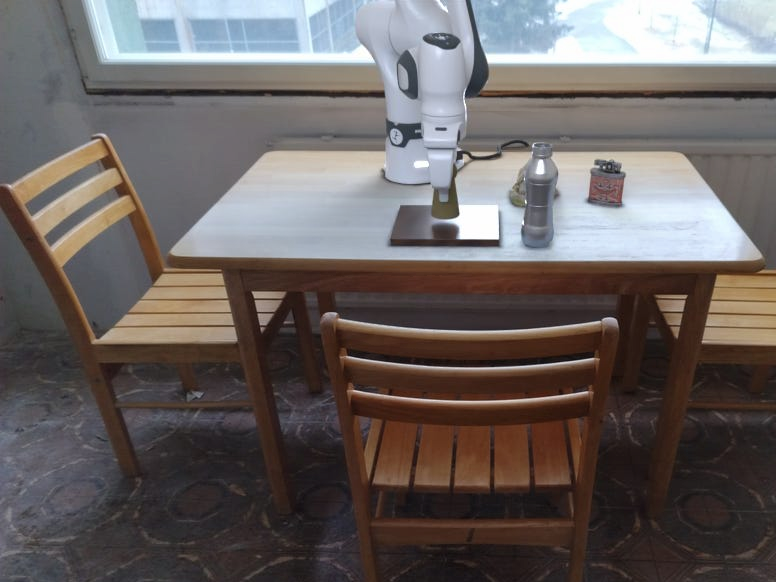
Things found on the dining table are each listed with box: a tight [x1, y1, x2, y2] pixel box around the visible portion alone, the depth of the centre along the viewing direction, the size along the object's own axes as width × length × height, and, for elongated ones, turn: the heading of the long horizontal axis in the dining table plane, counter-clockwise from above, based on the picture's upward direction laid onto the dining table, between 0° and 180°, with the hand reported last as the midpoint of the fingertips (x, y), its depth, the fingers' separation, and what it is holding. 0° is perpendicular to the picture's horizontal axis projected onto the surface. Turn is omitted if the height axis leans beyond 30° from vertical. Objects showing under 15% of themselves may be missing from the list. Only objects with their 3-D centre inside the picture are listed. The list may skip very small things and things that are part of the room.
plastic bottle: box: [520, 141, 559, 248], centre depth 127 cm, size 6×7×20 cm
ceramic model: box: [510, 155, 559, 207], centre depth 151 cm, size 14×11×10 cm
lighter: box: [587, 158, 627, 208], centre depth 148 cm, size 8×3×10 cm, turn 65°
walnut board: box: [389, 204, 500, 248], centre depth 139 cm, size 22×18×2 cm
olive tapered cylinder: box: [431, 163, 460, 220], centre depth 134 cm, size 6×6×11 cm
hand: (445, 195), depth 135 cm, fingers closed on olive tapered cylinder, 4 cm apart
